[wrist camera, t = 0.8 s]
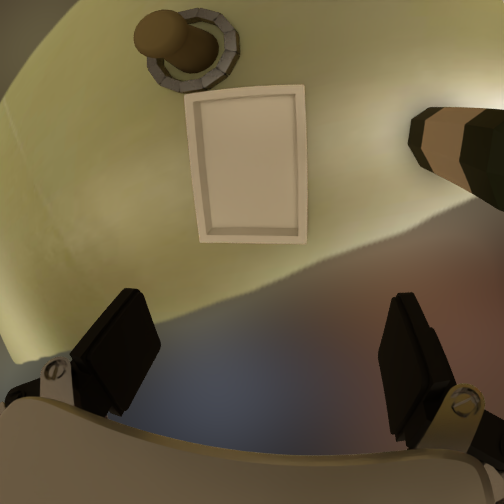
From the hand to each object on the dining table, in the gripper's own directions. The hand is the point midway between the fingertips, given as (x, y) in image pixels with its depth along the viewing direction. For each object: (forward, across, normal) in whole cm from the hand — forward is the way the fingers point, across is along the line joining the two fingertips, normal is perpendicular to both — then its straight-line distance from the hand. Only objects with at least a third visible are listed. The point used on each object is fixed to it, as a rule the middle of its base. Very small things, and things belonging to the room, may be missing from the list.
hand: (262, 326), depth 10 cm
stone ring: (+26, +10, -17) cm, 32 cm away
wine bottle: (+26, -19, -5) cm, 32 cm away
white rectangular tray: (+26, +4, -2) cm, 26 cm away
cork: (+26, +10, -17) cm, 33 cm away
